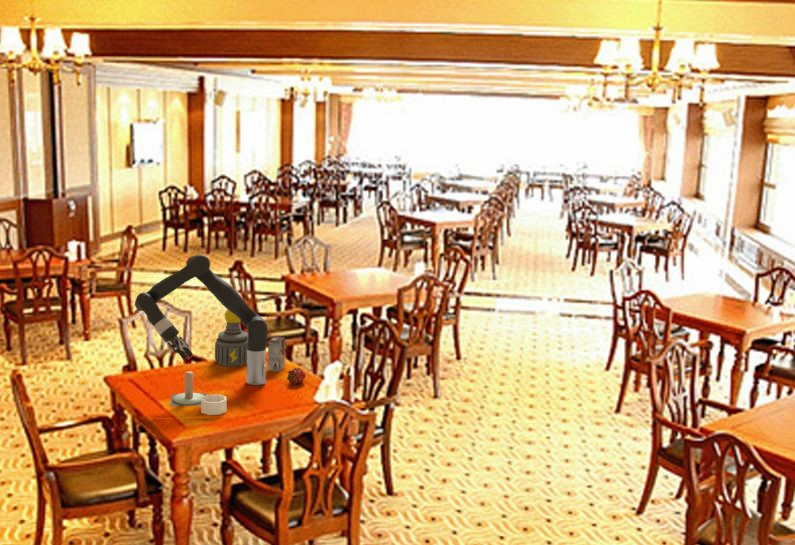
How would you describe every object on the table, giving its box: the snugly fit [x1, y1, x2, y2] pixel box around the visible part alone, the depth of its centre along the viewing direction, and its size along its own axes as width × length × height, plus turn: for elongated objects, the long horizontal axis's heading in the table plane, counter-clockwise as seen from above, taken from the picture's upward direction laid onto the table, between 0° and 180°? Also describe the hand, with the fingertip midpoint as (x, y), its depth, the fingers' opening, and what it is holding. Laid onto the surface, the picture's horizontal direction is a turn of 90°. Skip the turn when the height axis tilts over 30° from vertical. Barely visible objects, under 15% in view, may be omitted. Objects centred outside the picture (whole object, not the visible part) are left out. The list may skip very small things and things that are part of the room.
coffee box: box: [267, 336, 286, 372], centre depth 449 cm, size 9×6×16 cm
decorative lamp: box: [214, 309, 248, 368], centre depth 456 cm, size 19×19×30 cm
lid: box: [173, 371, 204, 405], centre depth 396 cm, size 14×14×13 cm
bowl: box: [200, 394, 228, 416], centre depth 385 cm, size 11×11×6 cm
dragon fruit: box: [286, 367, 307, 385], centre depth 429 cm, size 8×8×12 cm
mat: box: [170, 393, 208, 407], centre depth 397 cm, size 16×16×1 cm
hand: (188, 357), depth 392 cm, fingers open, 8 cm apart
